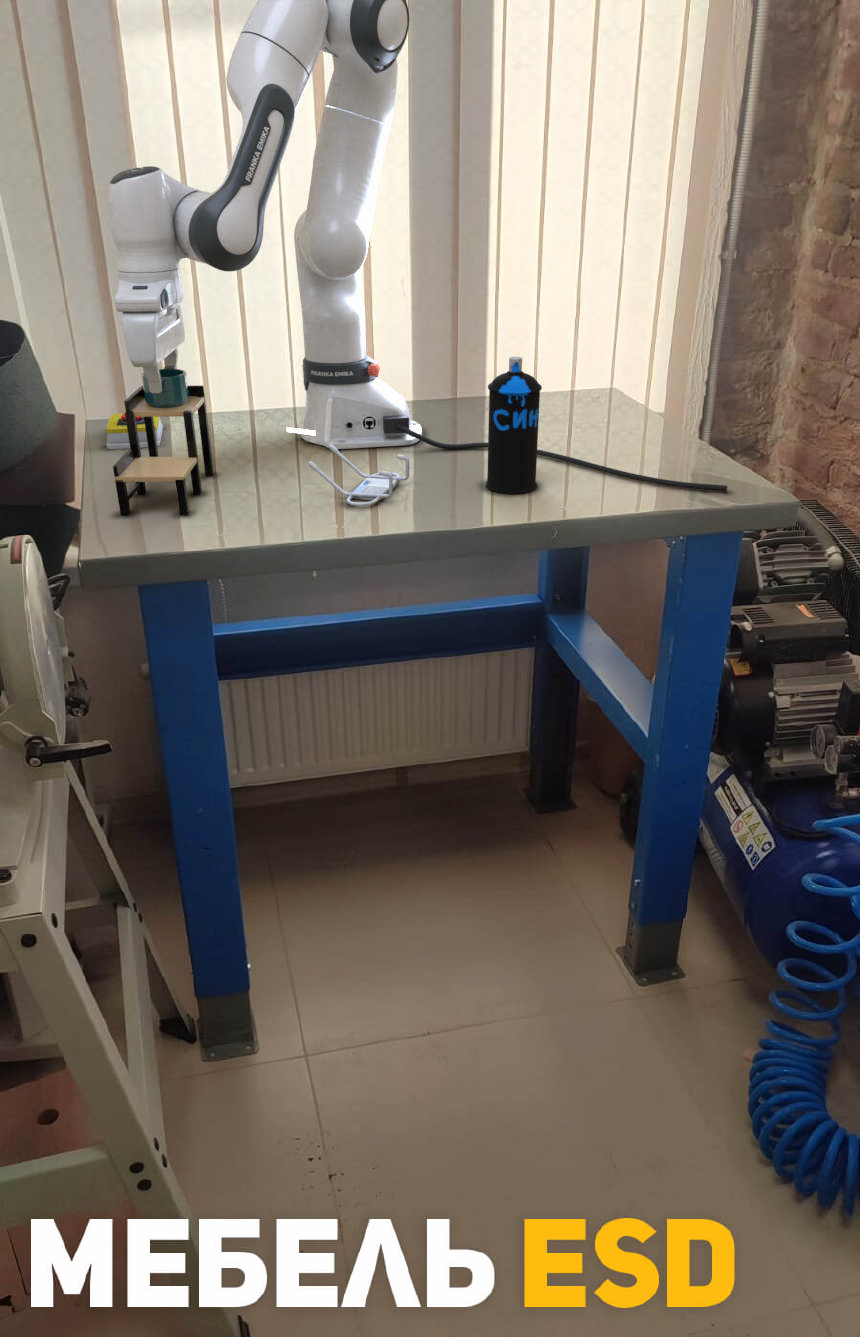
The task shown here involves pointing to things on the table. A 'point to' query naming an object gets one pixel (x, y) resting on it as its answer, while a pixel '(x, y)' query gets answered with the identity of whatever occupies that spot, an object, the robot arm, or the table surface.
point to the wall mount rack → (367, 482)
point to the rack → (154, 466)
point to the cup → (168, 389)
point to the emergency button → (119, 432)
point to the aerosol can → (513, 431)
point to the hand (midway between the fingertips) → (164, 385)
